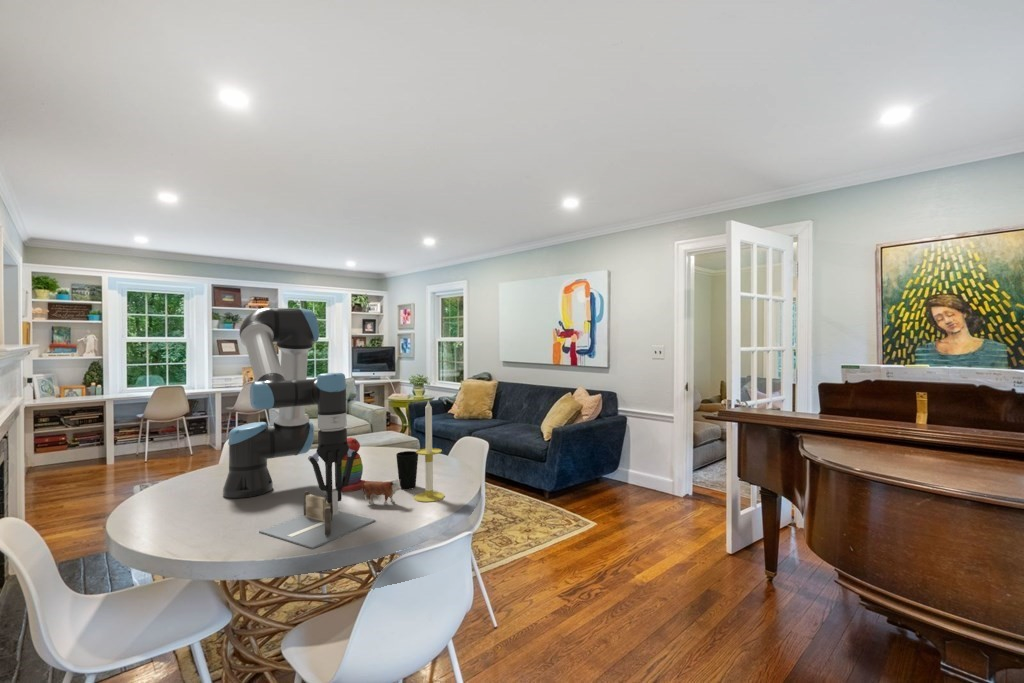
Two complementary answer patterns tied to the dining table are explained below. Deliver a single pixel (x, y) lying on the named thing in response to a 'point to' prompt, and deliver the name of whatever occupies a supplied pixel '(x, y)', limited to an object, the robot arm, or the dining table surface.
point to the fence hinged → (328, 518)
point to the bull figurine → (381, 489)
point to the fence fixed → (314, 506)
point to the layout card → (316, 529)
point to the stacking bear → (353, 468)
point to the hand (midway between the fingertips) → (334, 513)
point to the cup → (407, 468)
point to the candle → (428, 462)
